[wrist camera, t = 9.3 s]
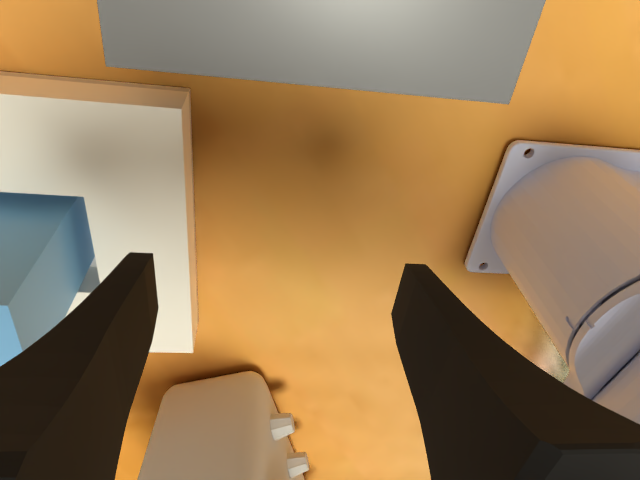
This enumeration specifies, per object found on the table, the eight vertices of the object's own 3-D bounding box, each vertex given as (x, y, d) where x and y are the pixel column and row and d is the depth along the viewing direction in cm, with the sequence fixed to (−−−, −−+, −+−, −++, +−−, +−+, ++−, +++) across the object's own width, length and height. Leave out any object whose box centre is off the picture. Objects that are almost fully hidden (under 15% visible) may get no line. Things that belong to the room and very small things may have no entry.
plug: (84, 186, 22) (7, 305, 16) (97, 264, 25) (36, 392, 19) (-10, 180, 22) (-128, 300, 15) (14, 259, 24) (-79, 391, 18)
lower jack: (190, 87, 21) (181, 108, 19) (198, 320, 29) (193, 352, 27) (-178, 55, 19) (-232, 74, 17) (-59, 313, 27) (-86, 348, 25)
